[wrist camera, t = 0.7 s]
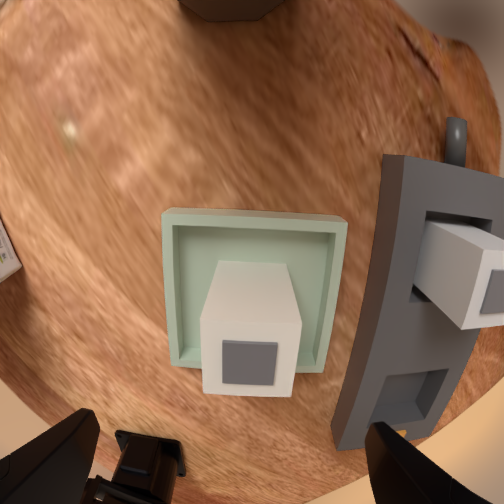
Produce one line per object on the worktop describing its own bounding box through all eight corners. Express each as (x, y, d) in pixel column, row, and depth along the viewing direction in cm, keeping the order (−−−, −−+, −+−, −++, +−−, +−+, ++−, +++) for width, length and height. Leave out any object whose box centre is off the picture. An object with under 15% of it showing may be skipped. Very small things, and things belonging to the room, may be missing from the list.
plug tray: (318, 355, 21) (322, 372, 19) (177, 348, 21) (171, 365, 19) (338, 215, 18) (348, 222, 16) (170, 207, 18) (161, 213, 16)
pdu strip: (418, 415, 24) (430, 438, 21) (330, 425, 24) (337, 453, 21) (490, 135, 16) (520, 136, 13) (385, 106, 16) (409, 99, 13)
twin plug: (451, 277, 19) (512, 325, 12) (405, 276, 19) (463, 331, 12) (462, 221, 18) (533, 254, 11) (415, 216, 18) (486, 250, 11)
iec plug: (280, 322, 20) (291, 399, 13) (218, 319, 20) (202, 396, 13) (286, 263, 19) (303, 326, 12) (218, 260, 19) (198, 321, 12)
